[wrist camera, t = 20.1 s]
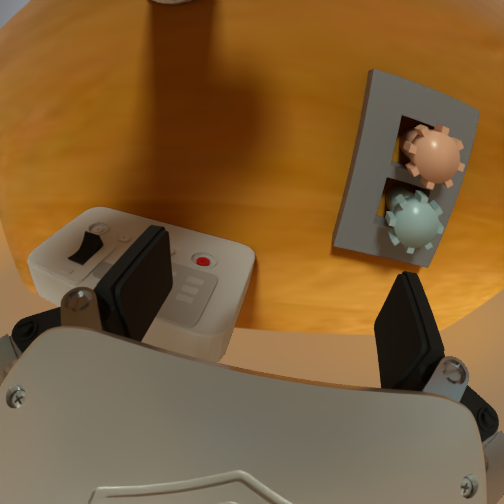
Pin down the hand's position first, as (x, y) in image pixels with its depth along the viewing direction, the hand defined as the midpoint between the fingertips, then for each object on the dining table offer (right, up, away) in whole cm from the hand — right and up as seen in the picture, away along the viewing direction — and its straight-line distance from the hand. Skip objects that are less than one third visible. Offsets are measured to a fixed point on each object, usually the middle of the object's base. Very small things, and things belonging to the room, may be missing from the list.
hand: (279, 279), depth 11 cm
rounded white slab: (-14, +3, +33) cm, 36 cm away
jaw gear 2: (+18, +8, +22) cm, 29 cm away
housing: (+18, +11, +20) cm, 29 cm away
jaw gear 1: (+18, +14, +18) cm, 29 cm away
